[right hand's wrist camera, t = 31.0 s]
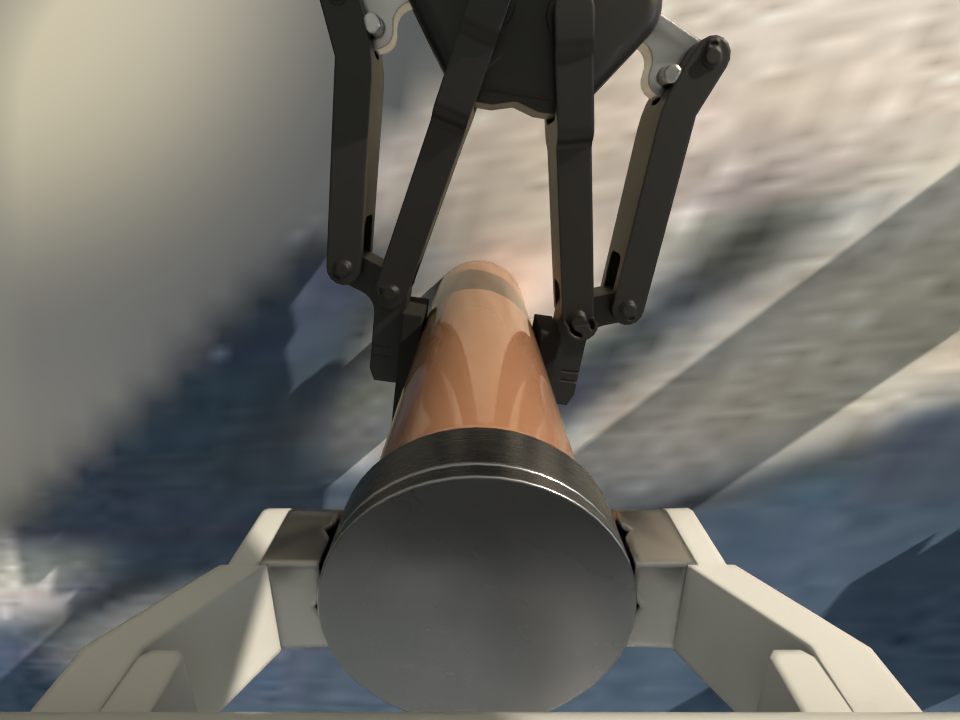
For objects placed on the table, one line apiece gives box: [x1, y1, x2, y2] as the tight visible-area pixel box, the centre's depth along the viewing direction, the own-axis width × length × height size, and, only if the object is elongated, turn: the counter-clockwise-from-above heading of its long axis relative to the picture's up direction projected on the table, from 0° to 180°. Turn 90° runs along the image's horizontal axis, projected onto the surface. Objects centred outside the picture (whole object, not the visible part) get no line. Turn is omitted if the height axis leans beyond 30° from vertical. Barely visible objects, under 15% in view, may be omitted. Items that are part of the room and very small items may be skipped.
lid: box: [317, 427, 637, 712], centre depth 9 cm, size 5×5×2 cm
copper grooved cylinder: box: [379, 261, 576, 461], centre depth 18 cm, size 5×5×19 cm
